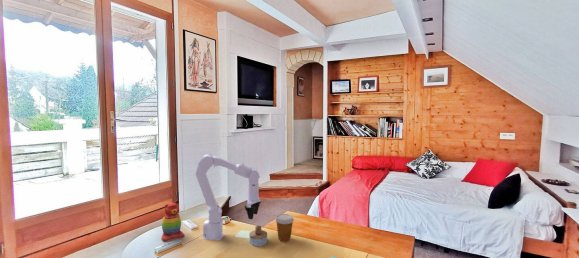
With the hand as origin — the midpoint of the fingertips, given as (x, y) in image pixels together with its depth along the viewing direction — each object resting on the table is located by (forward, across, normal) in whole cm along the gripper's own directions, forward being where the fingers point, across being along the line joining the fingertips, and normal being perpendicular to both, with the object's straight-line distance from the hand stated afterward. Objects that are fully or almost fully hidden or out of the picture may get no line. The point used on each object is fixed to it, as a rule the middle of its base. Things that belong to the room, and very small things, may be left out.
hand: (253, 216), depth 148 cm
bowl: (+10, -9, -6) cm, 15 cm away
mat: (+10, -2, +4) cm, 11 cm away
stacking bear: (+10, -12, +41) cm, 44 cm away
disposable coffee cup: (+10, -2, -18) cm, 21 cm away
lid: (+6, -9, -6) cm, 12 cm away
